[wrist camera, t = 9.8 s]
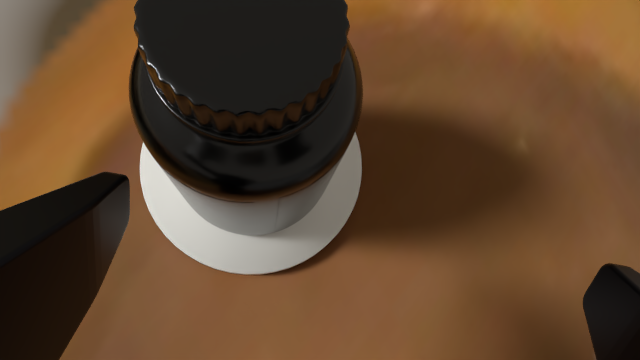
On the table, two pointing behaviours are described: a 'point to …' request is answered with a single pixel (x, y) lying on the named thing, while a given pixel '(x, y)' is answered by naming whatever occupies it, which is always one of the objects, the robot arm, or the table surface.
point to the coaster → (257, 249)
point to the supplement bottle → (246, 104)
